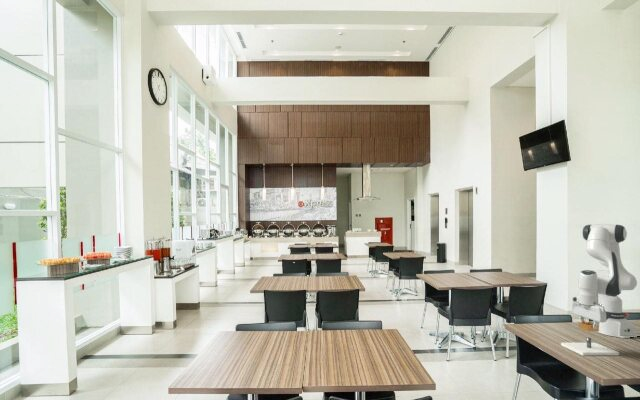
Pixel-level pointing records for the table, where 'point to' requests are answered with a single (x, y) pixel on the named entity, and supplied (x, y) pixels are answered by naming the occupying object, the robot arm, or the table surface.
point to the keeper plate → (589, 348)
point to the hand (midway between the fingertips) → (588, 326)
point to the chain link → (587, 326)
